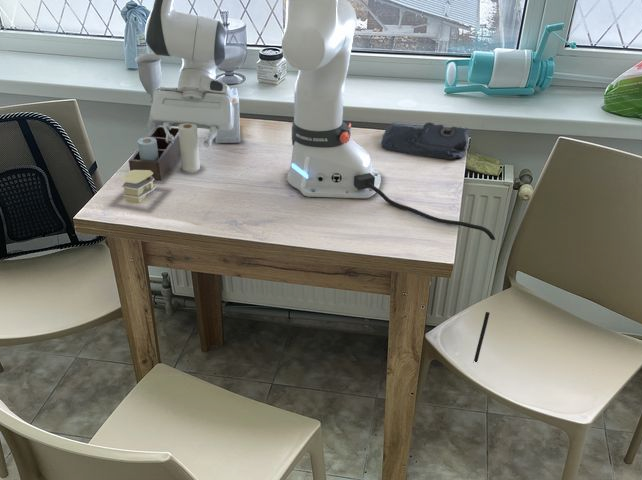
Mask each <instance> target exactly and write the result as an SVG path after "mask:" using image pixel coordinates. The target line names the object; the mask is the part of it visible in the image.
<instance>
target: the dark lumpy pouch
mask: <svg viewBox="0 0 642 480" xmlns="http://www.w3.org/2000/svg"><path fill="white" fill-rule="evenodd" d="M469 133H470V129H469V128H468V127H457V126H451V128H450V129H447V128H446V127H445V125H444V124H435V123H433V122H426V123H424V125H414V124H413V125H411V124H405V123H400V122H391V123H390V124H389V125H388V126H387V127H386V130H385V131H384V133H383V134H382V138H381V142H380V144H381V148H383V149H388V150H389V151H393V152H397V153H402V154H403V153H404V154H406V155H407V154H408V155H415V156H422V157H429V158H435V159H441V160H454V159H462V158H463V157H464V156H465V154H464V153H465V151H466V149H467V146H468V143H469Z"/></svg>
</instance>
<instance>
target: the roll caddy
mask: <svg viewBox="0 0 642 480" xmlns="http://www.w3.org/2000/svg"><path fill="white" fill-rule="evenodd" d="M169 133H170V134H172V135H173V136H174V140H173V141H174V142H173V144H171V143H167V142H166V133H165V130H164V128H163V126H156V127H155V128H154V129H151V131H150V133H149V134H148V135H147V137H152V138H155V139H156V140H157V148H158V156H159V159H158V161H146V160H140V155H139V147H137V149H136V150H135V152H133V154H132V155H131V156H130V158H129V159H128V166H129V171H131V170H151V171H152V172H153V174H152V175H151V176H152V177H153V178H154V180H153V181H158V182H161V181H162V180H163V179H164V178H165V176H166V174H167V173H168V171H169V170H170V169H171V167H172V166H173V165H174V163H175V162H176V159H178V157H179V156H180V155H181V151H180V141H179V131H178V127H175V126H171V130H169ZM148 180H149V179H148Z"/></svg>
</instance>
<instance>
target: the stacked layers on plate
mask: <svg viewBox="0 0 642 480" xmlns="http://www.w3.org/2000/svg"><path fill="white" fill-rule="evenodd" d="M152 174H153V172H152V171H151V170H131V171H130V170H129V171H127V172H126V173H125V175H124V177H122V179H121V182H123V184H122V185H121V188H122V189H124V193H123V194H122V196H124V197H125V201H126V202H131V203H137V204H140V203H141V202H142V201H143V200H144V199H145V198H146V197H147V194H149V193H151V192H153V191H154V190H155V189H156V186H155V185H154V181H155V180H154V178H153V177H152V176H151V175H152ZM148 179H149V180H148Z"/></svg>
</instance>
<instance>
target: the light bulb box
mask: <svg viewBox="0 0 642 480" xmlns="http://www.w3.org/2000/svg"><path fill="white" fill-rule="evenodd" d="M229 89H230V90H231V93H232V97H233V99H232V102H231V103H232V105H233V108H234V125H233V128H232V129H231V130H230V131H226V130H218V134H217V135H216V136H215V138H214V139H215V144H236V143H238V144H240V143H241V125H240V123H241V122H240V120H241V119H240V100H239V93H238V88H236V87H235V88H234V87H233V88H229Z"/></svg>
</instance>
